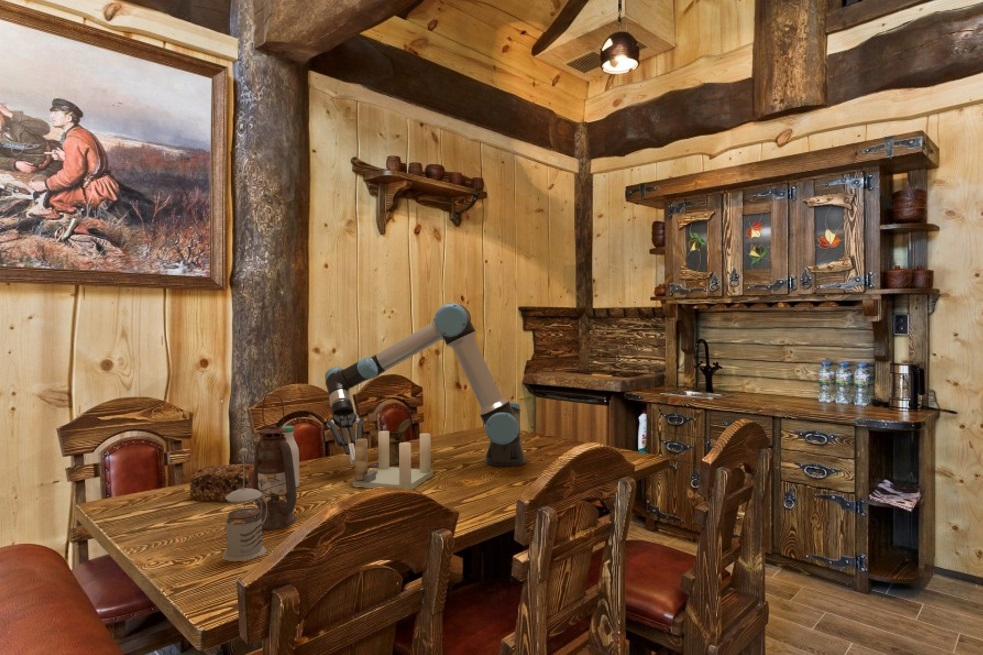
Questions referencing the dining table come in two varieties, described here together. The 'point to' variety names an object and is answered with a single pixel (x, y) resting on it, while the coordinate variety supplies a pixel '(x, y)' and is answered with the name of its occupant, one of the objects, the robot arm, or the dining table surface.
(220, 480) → the bread
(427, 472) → the stool top
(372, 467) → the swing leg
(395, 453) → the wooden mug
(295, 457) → the milk bottle
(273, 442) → the lantern
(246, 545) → the french press
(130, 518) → the dining table surface
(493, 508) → the dining table surface
